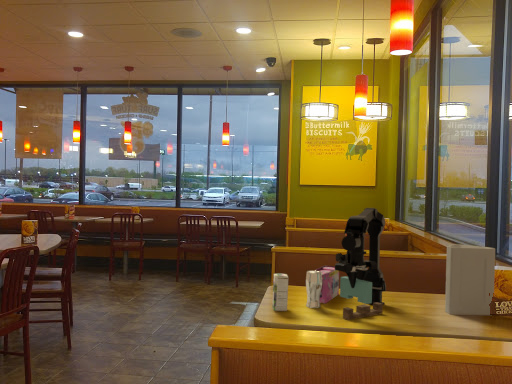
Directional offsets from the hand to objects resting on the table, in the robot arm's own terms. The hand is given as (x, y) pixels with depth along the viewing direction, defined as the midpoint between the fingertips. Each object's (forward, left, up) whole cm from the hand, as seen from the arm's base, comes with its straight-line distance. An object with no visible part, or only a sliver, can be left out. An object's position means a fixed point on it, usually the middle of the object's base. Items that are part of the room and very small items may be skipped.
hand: (355, 287), depth 178 cm
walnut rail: (-5, 0, -12) cm, 13 cm away
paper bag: (-52, +15, -12) cm, 55 cm away
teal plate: (0, 0, -5) cm, 5 cm away
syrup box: (+19, -24, -12) cm, 33 cm away
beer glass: (+3, -21, -12) cm, 24 cm away
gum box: (-13, -31, -12) cm, 36 cm away
